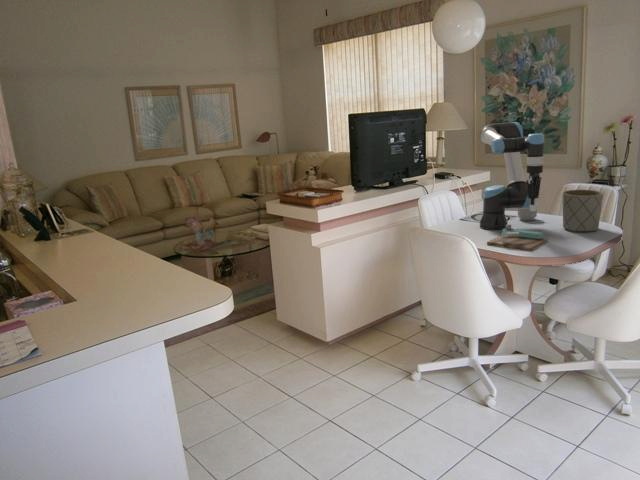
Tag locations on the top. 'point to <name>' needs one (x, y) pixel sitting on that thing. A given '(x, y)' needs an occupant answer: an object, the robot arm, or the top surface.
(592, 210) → the planter
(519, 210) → the teacup
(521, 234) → the latch bar
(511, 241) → the pivot board
